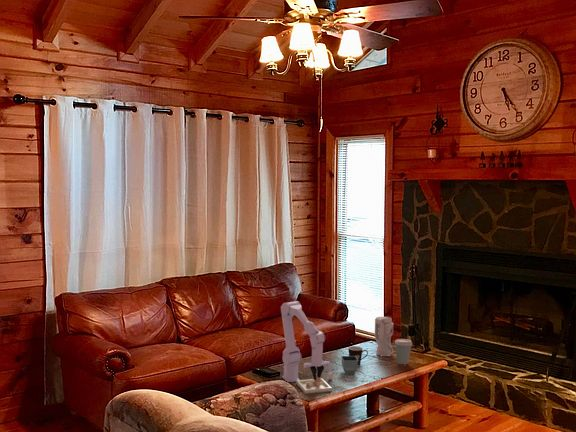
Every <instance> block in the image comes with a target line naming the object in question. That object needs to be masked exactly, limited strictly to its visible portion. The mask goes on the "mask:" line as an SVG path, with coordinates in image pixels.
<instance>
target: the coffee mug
mask: <svg viewBox="0 0 576 432" xmlns="http://www.w3.org/2000/svg"><path fill="white" fill-rule="evenodd" d="M347 348H348V356H356V357H357V359H358V365H359V366H361V363H362V362H361V361H362V360H364V359H365V358H366V357H367V356H368V355H369V351H368V350H367V349H364V348H363V347H361V346H355V345H353V346H349V347H347ZM364 352H367V353H366V354H365V356H363V357H362V355H363V353H364Z"/></svg>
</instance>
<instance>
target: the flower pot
mask: <svg viewBox="0 0 576 432" xmlns="http://www.w3.org/2000/svg"><path fill="white" fill-rule="evenodd" d="M340 359H341V366H342V370H343V372H344V374H345V375H355V374H356V372H357V370H358V367H359V366H358V359H357V357H356V356H349V355H341V357H340Z"/></svg>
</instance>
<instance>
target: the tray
mask: <svg viewBox="0 0 576 432" xmlns="http://www.w3.org/2000/svg"><path fill="white" fill-rule="evenodd" d="M307 382H315V380H314V379H311V378H310V379H300V380H297V381H296V386H297V387H298V388H299V389H300V390H301V391H302V392H303V393H304V394H305V395H308V394H318V393H330V392H331V393H332V392H333V387H332V386H331V385H330V384H329V383H328V382H326V381H325V379H323V377H322V378H321V377H320V382H323V385H320V386H307V385H306V383H307Z"/></svg>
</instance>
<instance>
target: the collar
mask: <svg viewBox="0 0 576 432" xmlns="http://www.w3.org/2000/svg"><path fill="white" fill-rule="evenodd" d="M306 385H307V386H320V385H323V382H320V380H319V377H317V376H316V380H315V382H307V383H306Z"/></svg>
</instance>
